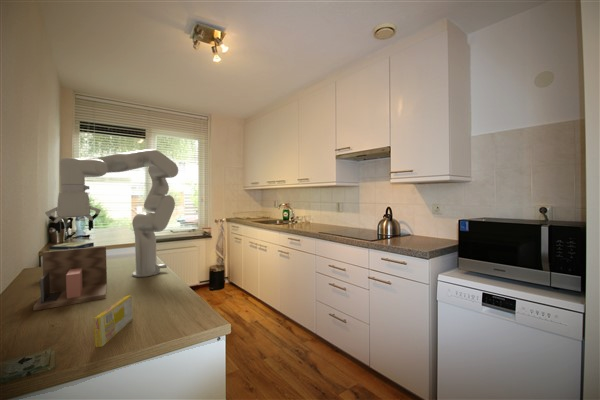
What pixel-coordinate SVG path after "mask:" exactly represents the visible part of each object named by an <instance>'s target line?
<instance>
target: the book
mask: <svg viewBox="0 0 600 400" xmlns="http://www.w3.org/2000/svg"><path fill="white" fill-rule="evenodd" d="M66 289H67V299H68V298H74V297H80V295H81V292H82V289H83V287H82V268H77V269H70V270H69V271H68V273H67V275H66Z"/></svg>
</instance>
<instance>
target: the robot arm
mask: <svg viewBox="0 0 600 400" xmlns="http://www.w3.org/2000/svg"><path fill="white" fill-rule="evenodd" d="M146 167H147V171H148V172H147V173H148V175H149V178H150V179H151V183H152V184H151V187H150V190H149V193H148V194H147V196H146V199H145V201H144V203H143V204H144V205H143V207H144V210H146V211H147V212H139V213H138V214H136V215H135V216H134V217H133V219H132V221H131V223H132V228H133V233H134V248H135V249H134V252H135V254H134V255H135V270H134V271H132V273H131V274H132V275H131V276H132V277H133V278H134V277H135V278H144V277H150V276H156V275H158V274H160V272H161V269H166V268H168V267H167V266H168V265H167V264H162V263H161V264H158V262H157V237H156V234H155V232H156V233H158V232H159V233H161V232H162V231H164V230H165V229H166V228H167V227H168V225H169V222H170V220H171V217H172V216H173V213H174V210H175V207H176V200H175V198H174V197H173V196H172V195H170V194H169V191H170V190H169V188H170V186H169V183H168V180H167V178H169V179H172V178H175V177H176V176H177V175H178V174H179V167H178V165H177V164H176V162H174V160H171V158H169V157H167V156H166V155H165V154H164V153H162V152H161V151H159V150H157V149H153V148H151V149H141V150H134V151H127V152H122V153H115V154H110V155H105V156H100V157H92V158H87V159H83V158H82V159H81V158H77V157H63V158H61V159H59V173H60V174H59V175H60V192H58V195H57V207H53V208H52V209H49V210H47V211H45V215H46V216H47V218H48V219H50V221H52V222H53V223H55V232H57V233H58V234H60V233H61V232H62V222H61V220H62V219H63V218H65V219H67V218H83V217H86V218H87V219H88V231H92V229H94V220H95V219H96V218H98V216H99V214H100V212H102V210H101V209H100V208H97V207H95V206H91V205H90V204H91V203H90V202H91V201H90V196H89V192H86V191H87V190H90V186H89V185H86V184H85V183H86V182H85V178H99V177H103V176H105V175H107V174H108V173H109V174H110V173H111V174H112V173H122V172H123V173H124V172H128V171H133V170H136V169H142V168H146ZM91 211H94V212H95V213H94V214H93V215H91ZM55 212H57V214H56V215H57V217H55V216H53V213H55Z"/></svg>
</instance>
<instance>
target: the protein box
mask: <svg viewBox="0 0 600 400" xmlns="http://www.w3.org/2000/svg"><path fill="white" fill-rule="evenodd" d="M94 243H95V242H64V243H59V244H55V245H54V244H53V245H50V246H48V247H49V250H48V251H58V250H68V249H79V248H90V247H95V244H94Z"/></svg>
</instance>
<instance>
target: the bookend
mask: <svg viewBox="0 0 600 400" xmlns="http://www.w3.org/2000/svg"><path fill="white" fill-rule="evenodd" d="M39 279H40V280H39V281H40V283H39V284H40V297H41V303H46V302H52V301H57V300H58V298H59V296H60V294H61V293H62V291H61V292H54V293H50V276H49V272H46V273H45V274H44V275H43V274H42V276H41V278H39Z"/></svg>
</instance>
